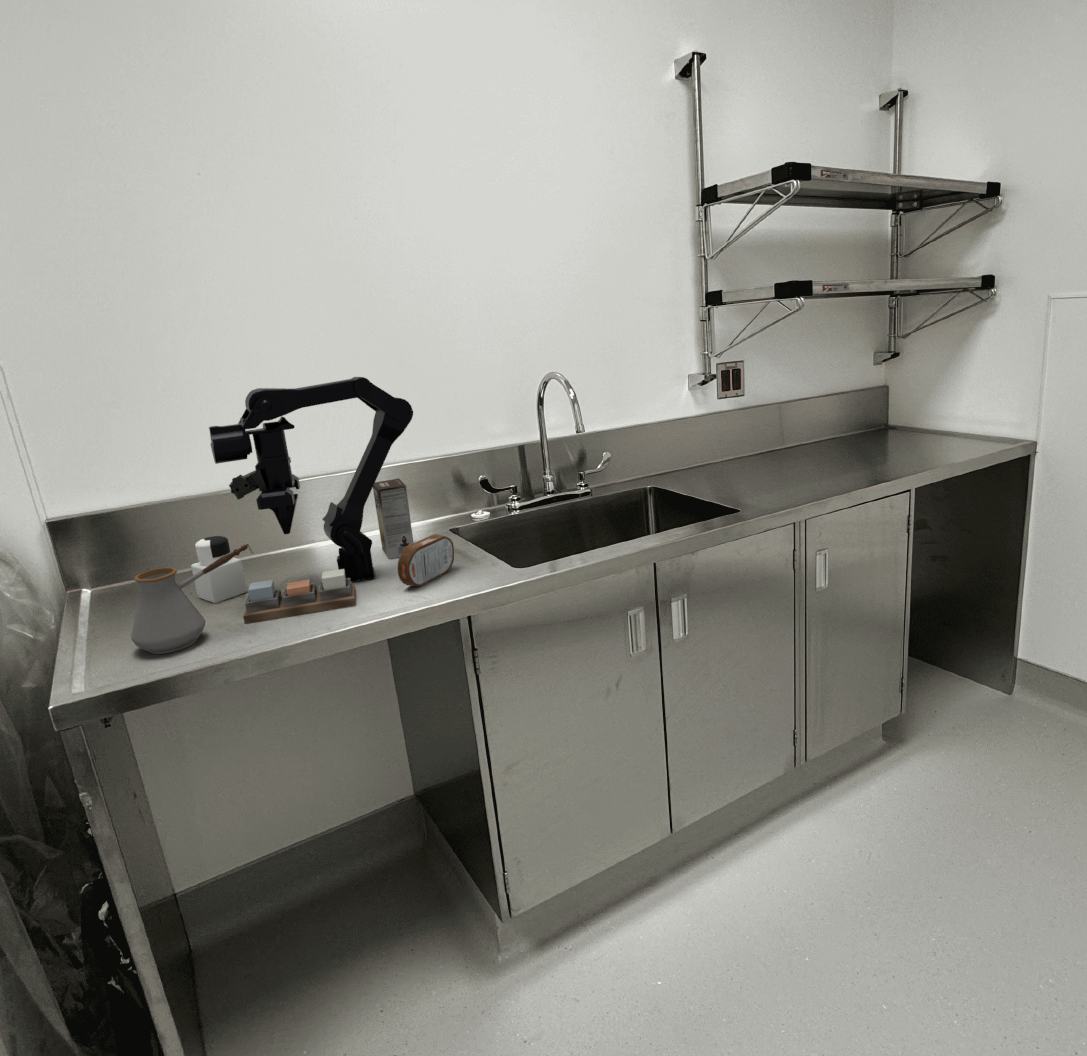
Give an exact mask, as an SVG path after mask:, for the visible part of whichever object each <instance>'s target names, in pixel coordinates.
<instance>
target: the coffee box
mask: <svg viewBox="0 0 1087 1056" xmlns="http://www.w3.org/2000/svg"><path fill="white" fill-rule="evenodd" d="M372 491H373V496H374V497H373V498H374V503H375V505H374V506H375V510H376V516H377V523H378V524H377V525H378V530H379V537H380V543H381V544H380V545H381V548H382V551H383V552H384V554H385V555H386V557H387V559H389V560H391V559H397V558H400V555H401V553H402V552H403V550H404V549H405V548H406V547H407V546H408V545H410V544H412V543H415V541H414V537H413V536H414V535H413V528H412V521H411V513H410V507H409V506H410V505H409V499H408V491H407V485H406V484H405V483H404V481H402V480H401V479H400V478H393V479H388V480H380V481H375V483H374V485H373V488H372Z"/></svg>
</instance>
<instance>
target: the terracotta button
mask: <svg viewBox="0 0 1087 1056" xmlns="http://www.w3.org/2000/svg"><path fill="white" fill-rule="evenodd" d="M311 584H312V583H311V579H304V580H296V581H291V582H287V586H286V588H287V589H286V590H287V596H291V595H297V594H304V593H310V592H312V587H311Z"/></svg>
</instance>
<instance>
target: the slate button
mask: <svg viewBox="0 0 1087 1056" xmlns="http://www.w3.org/2000/svg"><path fill="white" fill-rule="evenodd" d="M275 589H276V587H275V582H274V579H269V580H263V581H257V582H251V583H250V585H249V587H248V588H247V592H248V595H249V597H250V602H253V601H259V600H266V599H272V598H275V596H276V591H275Z"/></svg>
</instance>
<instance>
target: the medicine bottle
mask: <svg viewBox="0 0 1087 1056" xmlns="http://www.w3.org/2000/svg"><path fill="white" fill-rule="evenodd" d="M194 546H195V551H196V555H197V561H198V562H195V563H192V564H191V566H190V568H191V572H192V576H193V575H195V574H197V573H199V572H200V571H202V570H203V569H204V568H206V567H207V566H209V565H210V564H212V563H213V562H215V561H216V560H218V559H219V558H221V557H222V556H225V555H227V554H229V553H232V552H231V548H230V543H229V539H228V538H227V537H226V536H222V535H214V536H212V535H211V536H207V537H204V538H202V539H199V540H198V541H197V542H195V544H194ZM193 582H194V585H195V591H196V594H197V598H200V599H202V600H204V601H207V602H211V603H214V604H217V603H221V602H223V601H226V600H229V599H232V598H234V597H238V596H240V595H243V594H245V593H247V592H248V587H247V582H246V577H245V573H244V568H243V563H242V559H240V558H236V557H233V558H232V559H230V560H229V561H228V562H227V563H225V564H223V565H221V566H219V567H218V568H216V569H214V570H212V571H210V572H208V573H206V574H204V575H202V576H201V577H199V578H198V579H196V580H194V581H193Z"/></svg>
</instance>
